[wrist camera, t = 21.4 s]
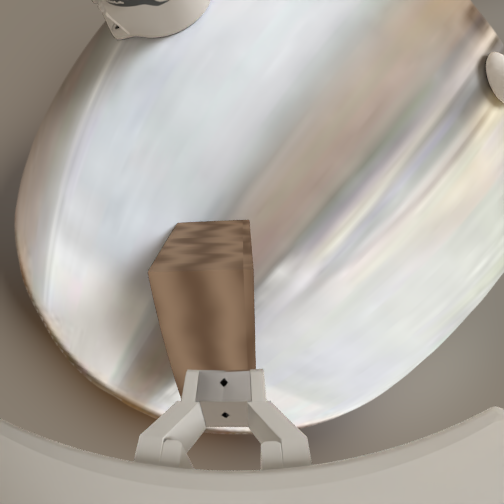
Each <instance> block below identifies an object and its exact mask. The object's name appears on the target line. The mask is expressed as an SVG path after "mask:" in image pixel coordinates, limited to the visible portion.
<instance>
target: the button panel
mask: <svg viewBox="0 0 504 504" xmlns="http://www.w3.org/2000/svg"><path fill="white" fill-rule="evenodd" d="M148 276H149V281H150V286H151V290H152V295H153V299H154V304H155V308H156V312H157V316H158V320H159V324H160V328H161V332H162V336H163V340H164V343H165V347H166V351H167V354H168V358H169V361H170V364H171V368H172V371H173V374H174V378H175V381H176V384H177V387H178V390H179V393H180V396H181V397H182V392H183V386H184V381H185V375H186V372H187V370H222V371H225V370H247V369H256V358H255V315H254V273H253V258H252V246H251V234H250V222H249V220H231V221H207V222H187V223H177V225H176V226H175V228H174V230H173V231H172V233H171V234H170V236H169V237H168V239H167V241H166V242H165V244H164V246H163V247H162V249H161V251H160V252H159V254H158V255H157V257H156V259H155V260H154V262H153V264H152V266H151V267H150V269H149V271H148ZM250 381H251V380H250Z"/></svg>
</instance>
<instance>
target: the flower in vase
mask: <svg viewBox="0 0 504 504" xmlns="http://www.w3.org/2000/svg"><path fill="white" fill-rule="evenodd" d="M486 73H487V78H488V81H489V84H490V86H491V89H492V90H493V92H494V94H495V95H496V97H497V98H498V99H499V100H500V101H501V102H503V103H504V55H502V54H500V53H498V52H492V53H490V54H489V56H488V58H487V60H486Z"/></svg>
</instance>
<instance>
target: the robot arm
mask: <svg viewBox="0 0 504 504" xmlns="http://www.w3.org/2000/svg"><path fill="white" fill-rule="evenodd" d="M92 2H93V3H94V4H98V5H99V6H98V8H99V10H100V11H101V12H102V13H103V16H104V18H105V20H106V22H107V24H108V26H109V28H110V31H111V33H112V35H113V36H114V37H115V38H116V39H118V40H121V39H126V38H130V37H134V36H139V37H147V38H157V37H164V36H168V35H172V34H174V33H177V32H179V31H181V30H183V29H185V28H187V27H189V26H190V25H191V24H193V23H194V22H195V21H197V20H198V19H199V18H200V17H201V16H202V14H203V13H204V12H205V11H206V9H207V7H208V5H209V3H210V0H92ZM118 26H119V28H118V29H116V28H117V27H118ZM250 380H251V381H250ZM206 427H249V429H250V430H251V431H252V433H253V434H254V435H255V437H256V438H257V439H258V440H259V442H260V443H261V470H246V471H218V470H197V469H194V467H193V466H192V464H191V462H190V460H189V458H188V455H187V452H188V451H189V449H190V448H191V447H192V446H193V444H194V443H195V442H196V441H197V439H198V438H199V437H200V436H201V434H202V433H203V432H204V430H205V429H206ZM0 504H504V409H502V408H499V407H491V408H489V409H487V410H485V411H483V412H481V413H479V414H477V415H475V416H473V417H471V418H469V419H467V420H465V421H463V422H460V423H458V424H456V425H454V426H452V427H449V428H447V429H444V430H442V431H439V432H437V433H434V434H432V435H429V436H426V437H424V438H421V439H418V440H415V441H412V442H409V443H406V444H403V445H401V446H397V447H393V448H390V449H387V450H383V451H379V452H376V453H372V454H368V455H364V456H359V457H355V458H350V459H345V460H341V461H335V462H329V463H324V464H317V465H312V462H311V456H310V451H309V446H308V440H307V437H306V436H305V435H304V434H303V433H302V432H301V431H300V430H299V429H298V428H297V427H296V426H295V425H294V424H293V423H292V422H291V421H290V420H289V419H288V418H287V417H286V416H285V415H284V414H283V413H282V412H281V411H280V410H279V409H278V408H277V407H276V406H275V405H274V404H273V403H272V402H271V401H266V390H265V379H264V370H263V369H247V370H225V371H222V370H187V372H186V375H185V381H184V386H183V392H182V397H181V401H177V402H176V403H175V404H173V405H172V406H171V407H170V408H169V409H168V410H167V411H166V412H165V413H164V414H163V415H162V416H161V417H159V418H158V419H157V420H156V421H155V422H154V423H153V424H152V425H151V426H150V427H149V428H147V429H146V430H145V431H144V432H143V433H142V434H141V435H140V437H139V441H138V445H137V450H136V454H135V458H134V462H132V461H126V460H121V459H116V458H112V457H107V456H103V455H99V454H95V453H92V452H88V451H84V450H80V449H77V448H74V447H70V446H68V445H65V444H61V443H59V442H56V441H52V440H50V439H47V438H44V437H42V436H39V435H36V434H34V433H32V432H29V431H27V430H25V429H22V428H20V427H17V426H15V425H13V424H11V423H9V422H7V421H5V420H3V419H1V418H0Z"/></svg>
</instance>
